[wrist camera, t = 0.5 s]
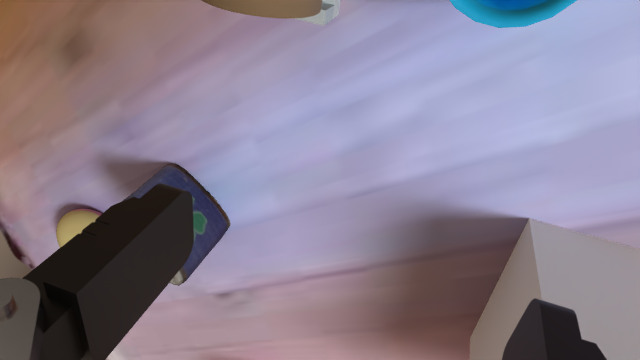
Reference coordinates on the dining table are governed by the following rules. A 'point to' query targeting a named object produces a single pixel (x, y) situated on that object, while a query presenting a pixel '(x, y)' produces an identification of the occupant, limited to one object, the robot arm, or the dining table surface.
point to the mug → (510, 11)
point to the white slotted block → (566, 290)
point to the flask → (206, 215)
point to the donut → (74, 224)
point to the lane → (283, 8)
